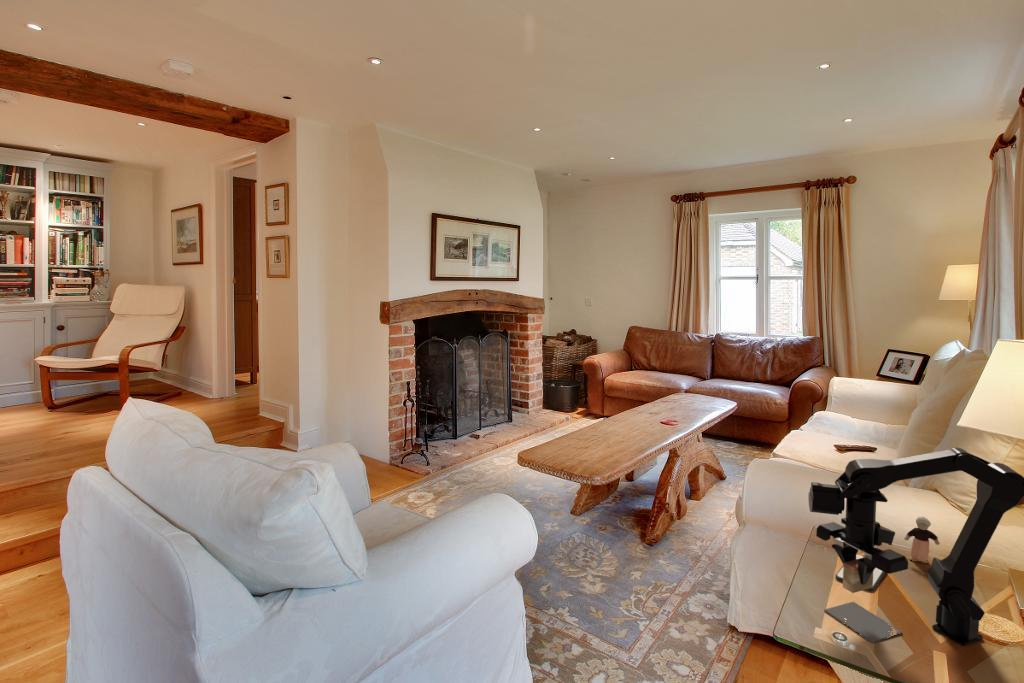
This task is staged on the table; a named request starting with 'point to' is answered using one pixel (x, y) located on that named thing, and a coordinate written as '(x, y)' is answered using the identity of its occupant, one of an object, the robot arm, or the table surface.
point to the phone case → (876, 575)
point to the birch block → (854, 577)
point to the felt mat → (862, 621)
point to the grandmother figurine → (921, 540)
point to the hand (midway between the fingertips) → (857, 580)
